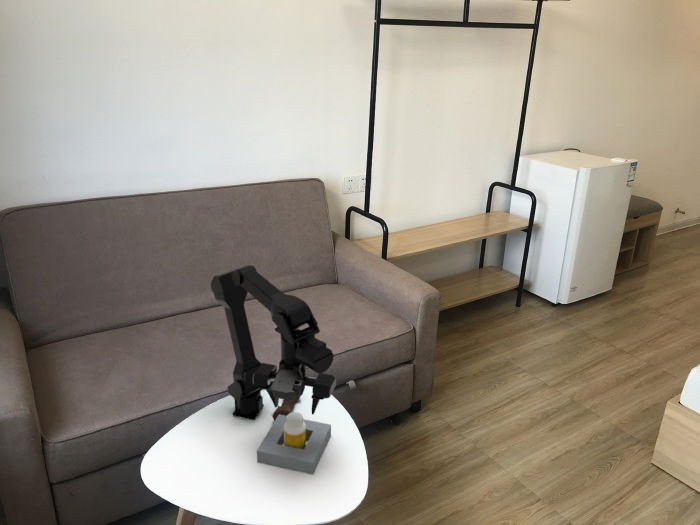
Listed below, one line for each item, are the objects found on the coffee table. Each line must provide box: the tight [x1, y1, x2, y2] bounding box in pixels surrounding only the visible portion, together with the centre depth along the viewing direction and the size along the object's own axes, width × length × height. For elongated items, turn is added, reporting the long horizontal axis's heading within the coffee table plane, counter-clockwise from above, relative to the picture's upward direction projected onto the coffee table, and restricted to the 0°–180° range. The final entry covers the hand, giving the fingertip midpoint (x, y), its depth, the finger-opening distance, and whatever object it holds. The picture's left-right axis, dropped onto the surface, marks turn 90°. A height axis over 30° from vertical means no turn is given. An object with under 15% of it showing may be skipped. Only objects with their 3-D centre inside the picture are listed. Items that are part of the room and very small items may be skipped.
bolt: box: [271, 395, 301, 422], centre depth 155 cm, size 6×5×15 cm
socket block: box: [256, 414, 332, 476], centre depth 141 cm, size 14×14×4 cm
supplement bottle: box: [283, 411, 307, 450], centre depth 140 cm, size 5×5×10 cm
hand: (294, 409), depth 137 cm, fingers open, 9 cm apart
